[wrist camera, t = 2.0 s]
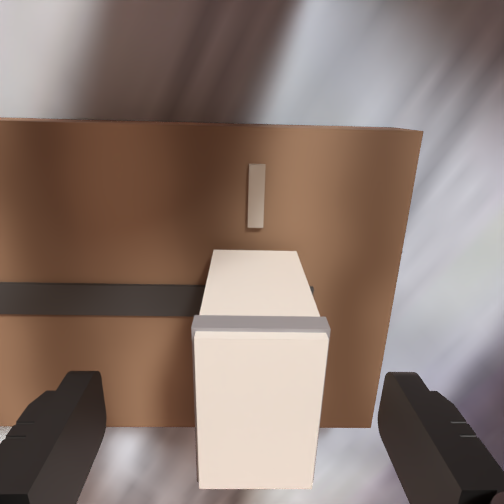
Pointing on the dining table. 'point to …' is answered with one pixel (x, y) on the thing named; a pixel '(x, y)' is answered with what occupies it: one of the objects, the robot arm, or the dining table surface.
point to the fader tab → (258, 373)
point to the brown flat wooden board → (189, 250)
